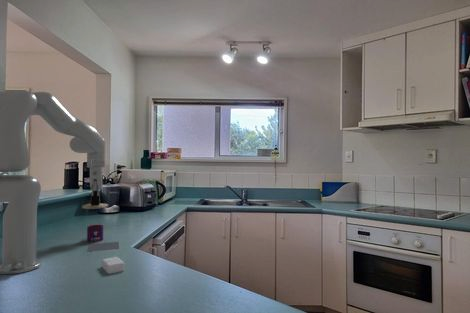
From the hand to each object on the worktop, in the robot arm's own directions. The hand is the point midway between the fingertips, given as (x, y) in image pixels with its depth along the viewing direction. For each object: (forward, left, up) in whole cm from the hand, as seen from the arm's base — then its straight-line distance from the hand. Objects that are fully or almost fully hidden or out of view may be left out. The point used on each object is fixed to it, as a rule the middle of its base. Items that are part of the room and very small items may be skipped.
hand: (95, 203), depth 144 cm
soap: (-44, -8, -17) cm, 48 cm away
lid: (0, 0, -2) cm, 2 cm away
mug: (0, 0, -17) cm, 17 cm away
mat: (-14, -4, -17) cm, 22 cm away
